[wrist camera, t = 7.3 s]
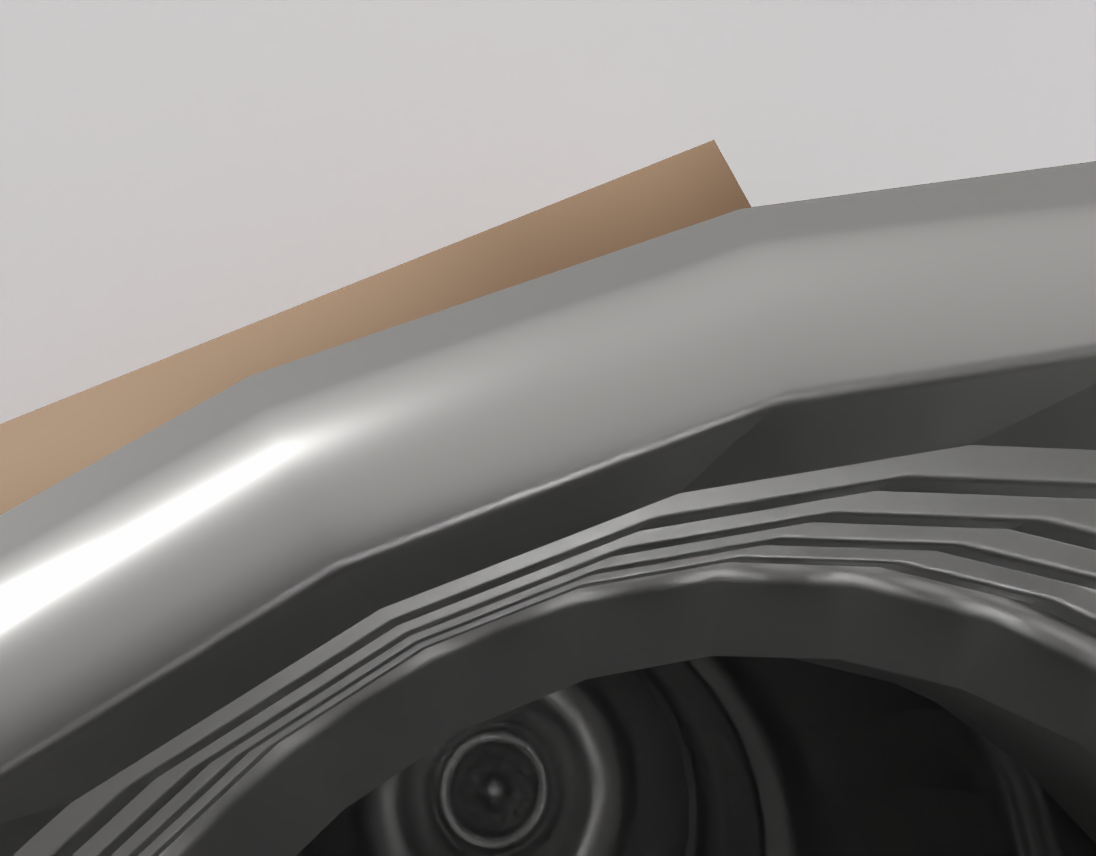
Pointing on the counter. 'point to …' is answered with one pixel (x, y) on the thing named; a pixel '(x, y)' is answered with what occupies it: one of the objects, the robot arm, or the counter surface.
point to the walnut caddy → (365, 313)
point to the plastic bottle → (604, 564)
